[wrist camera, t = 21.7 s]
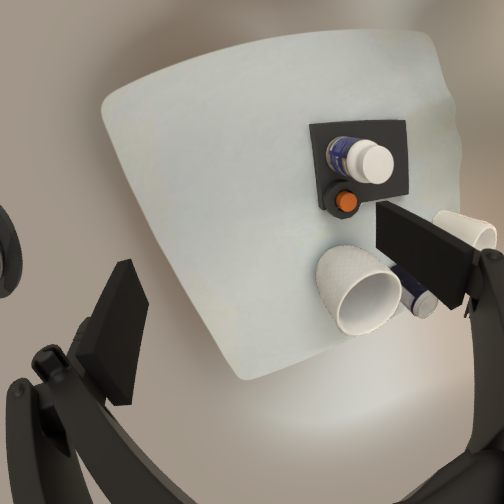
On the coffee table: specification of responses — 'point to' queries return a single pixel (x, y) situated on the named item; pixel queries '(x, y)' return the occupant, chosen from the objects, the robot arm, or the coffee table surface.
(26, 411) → the robot arm
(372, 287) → the mug
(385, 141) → the scale
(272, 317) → the coffee table surface
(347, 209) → the button
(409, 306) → the beverage can
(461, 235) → the foam cup
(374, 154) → the pill bottle
